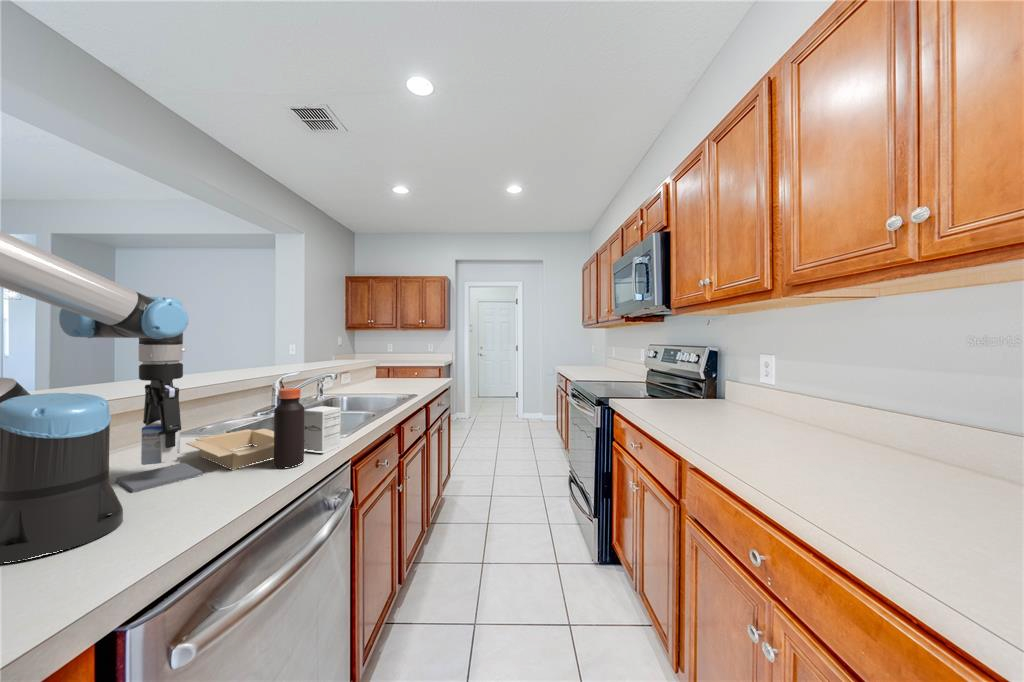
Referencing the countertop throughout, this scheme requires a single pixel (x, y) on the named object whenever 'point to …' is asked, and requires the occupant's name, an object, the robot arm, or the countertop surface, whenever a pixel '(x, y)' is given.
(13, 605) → the countertop surface
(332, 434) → the supplement box
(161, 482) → the mat
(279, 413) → the bottle
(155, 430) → the medicine box
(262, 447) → the carton
